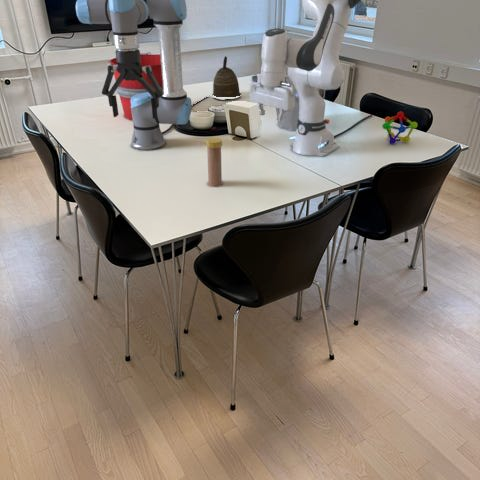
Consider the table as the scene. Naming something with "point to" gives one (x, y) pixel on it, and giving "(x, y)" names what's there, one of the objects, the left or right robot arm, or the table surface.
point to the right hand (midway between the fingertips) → (270, 117)
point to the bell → (225, 82)
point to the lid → (214, 142)
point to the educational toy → (398, 128)
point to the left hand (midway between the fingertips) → (135, 116)
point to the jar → (214, 166)
